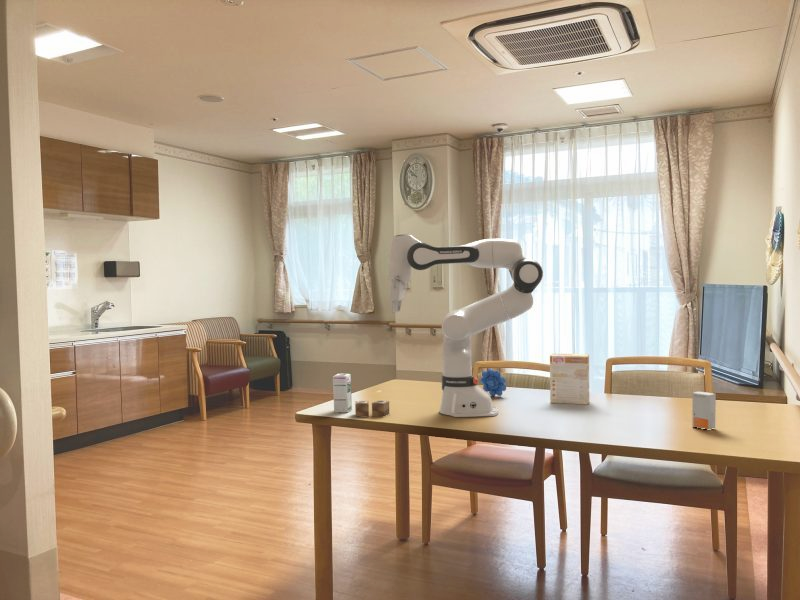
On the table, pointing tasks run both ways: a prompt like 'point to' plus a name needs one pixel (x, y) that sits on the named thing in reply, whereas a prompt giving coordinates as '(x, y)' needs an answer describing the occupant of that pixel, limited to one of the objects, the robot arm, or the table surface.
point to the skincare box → (703, 410)
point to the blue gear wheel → (493, 382)
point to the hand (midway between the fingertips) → (396, 311)
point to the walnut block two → (380, 408)
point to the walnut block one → (362, 408)
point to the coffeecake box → (569, 378)
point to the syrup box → (342, 392)
